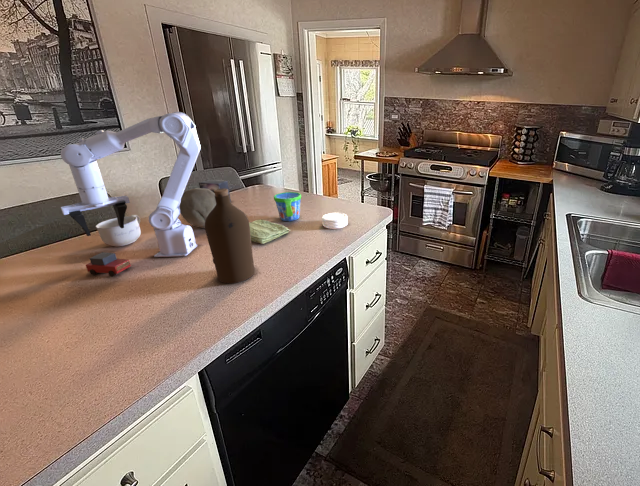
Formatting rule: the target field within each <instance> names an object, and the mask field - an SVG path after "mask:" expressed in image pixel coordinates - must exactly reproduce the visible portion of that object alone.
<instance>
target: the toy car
mask: <svg viewBox="0 0 640 486" xmlns="http://www.w3.org/2000/svg"><path fill="white" fill-rule="evenodd" d="M88 259H89V261H90V262H88V263H86V264H85V268H86V270H87V272H88V273H89V274H90V275H91V276H96V275H97V274H98V273H99V274H101V273H103V274H108V275H109V277H115V276H117V275H118V274H120V273H121V272H123V271H125V270H128V269H130V267H131V266H132V265H131V262H130V259H125V258H117V255H116V253H115V252H107V251H106V252H105V251H104V252H103V251H102V252H100V253H97V254H95V255H93V256H91V257H89V258H88Z"/></svg>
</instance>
